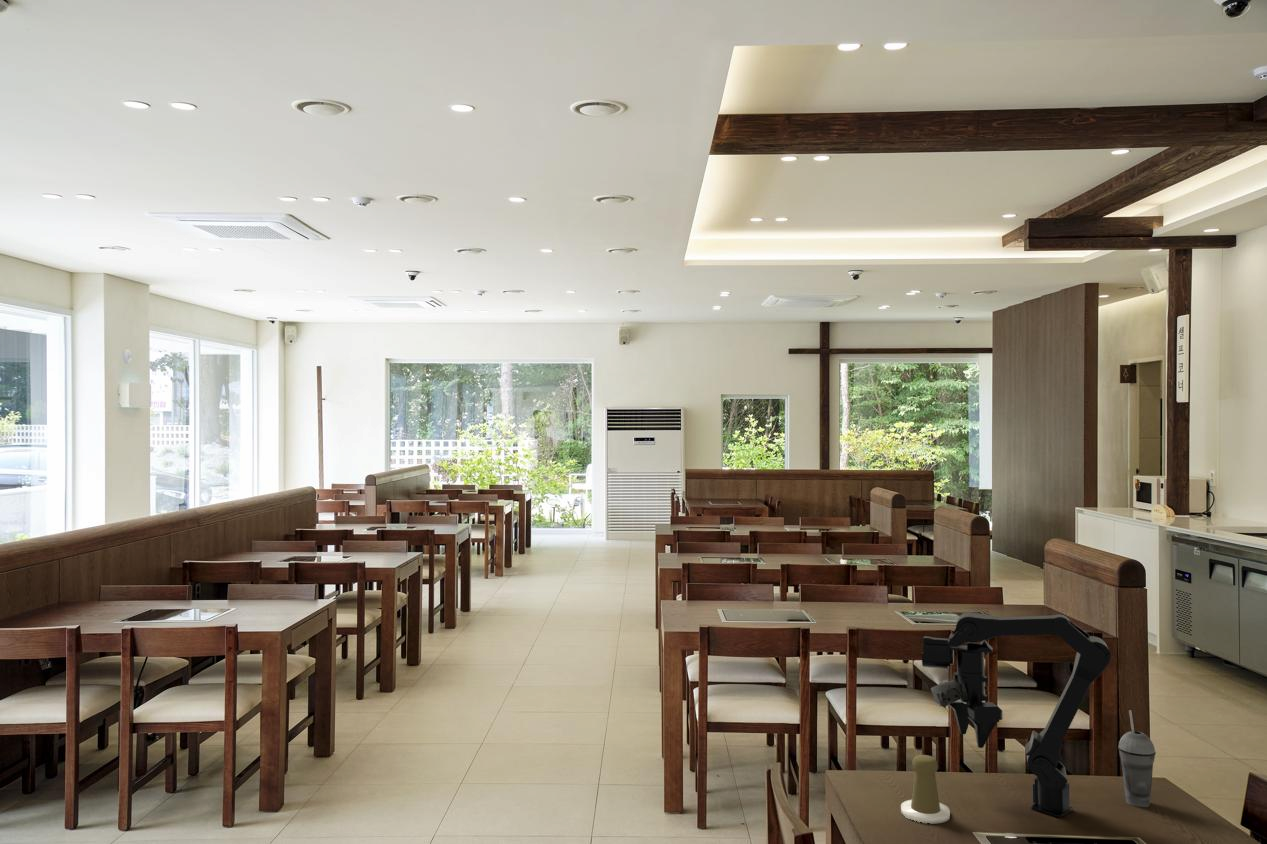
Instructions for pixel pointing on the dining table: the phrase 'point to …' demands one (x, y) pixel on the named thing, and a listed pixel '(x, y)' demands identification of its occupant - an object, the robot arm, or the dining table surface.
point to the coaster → (925, 818)
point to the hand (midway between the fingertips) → (971, 740)
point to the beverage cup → (1137, 766)
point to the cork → (925, 785)
